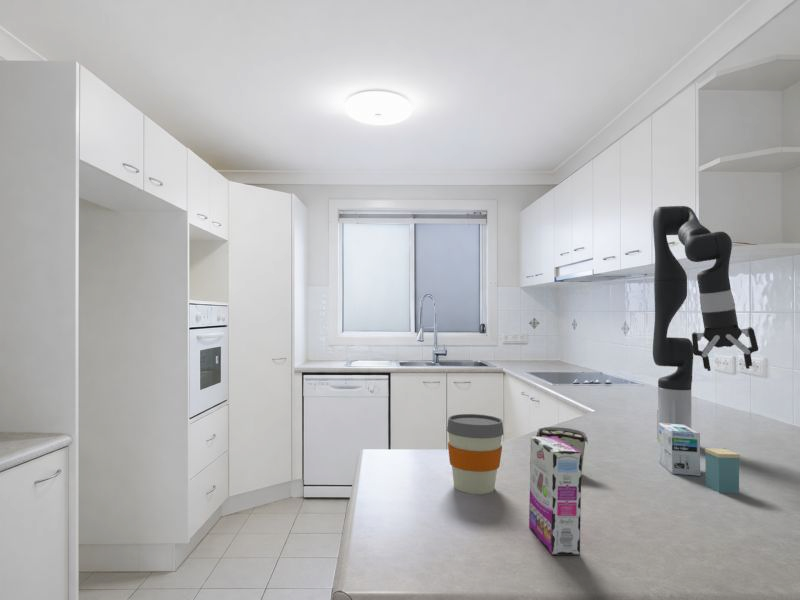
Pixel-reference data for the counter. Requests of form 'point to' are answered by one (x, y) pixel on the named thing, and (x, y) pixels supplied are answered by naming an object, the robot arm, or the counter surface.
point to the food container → (566, 437)
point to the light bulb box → (679, 449)
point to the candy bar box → (555, 495)
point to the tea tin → (722, 470)
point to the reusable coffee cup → (474, 451)
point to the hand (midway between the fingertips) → (727, 369)
